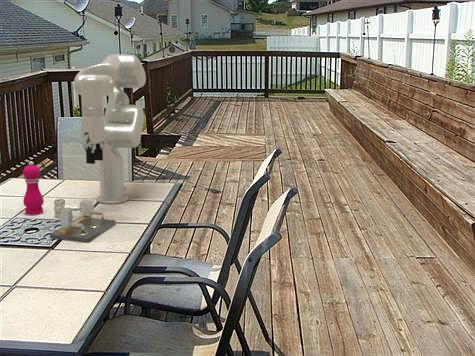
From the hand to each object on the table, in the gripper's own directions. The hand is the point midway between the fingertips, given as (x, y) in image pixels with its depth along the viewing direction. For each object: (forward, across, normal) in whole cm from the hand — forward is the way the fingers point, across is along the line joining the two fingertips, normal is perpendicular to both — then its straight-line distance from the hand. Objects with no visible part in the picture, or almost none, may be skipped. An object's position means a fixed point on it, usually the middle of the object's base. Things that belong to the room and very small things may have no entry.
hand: (94, 161), depth 210 cm
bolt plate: (+21, +15, +3) cm, 26 cm away
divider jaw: (+19, +7, +2) cm, 21 cm away
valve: (+22, +2, -10) cm, 24 cm away
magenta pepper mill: (+22, +2, -25) cm, 33 cm away
